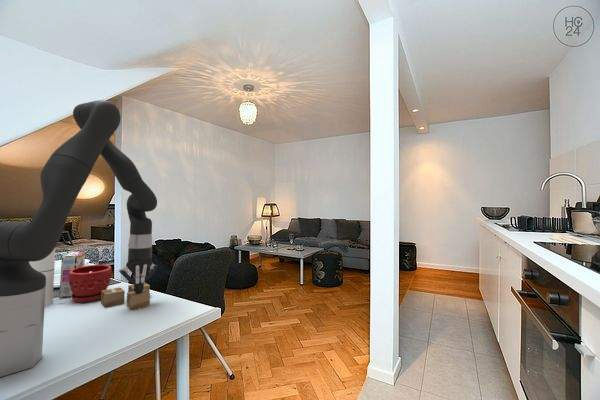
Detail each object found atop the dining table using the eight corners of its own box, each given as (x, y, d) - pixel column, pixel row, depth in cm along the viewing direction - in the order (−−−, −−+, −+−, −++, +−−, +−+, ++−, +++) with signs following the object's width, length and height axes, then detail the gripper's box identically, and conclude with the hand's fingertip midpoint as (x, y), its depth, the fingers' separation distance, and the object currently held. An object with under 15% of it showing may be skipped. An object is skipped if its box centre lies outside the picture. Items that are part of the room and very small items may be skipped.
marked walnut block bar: (124, 304, 99) (124, 290, 99) (104, 308, 95) (105, 293, 95) (119, 299, 103) (120, 286, 103) (100, 303, 99) (101, 290, 99)
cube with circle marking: (149, 297, 107) (149, 284, 107) (132, 301, 102) (132, 288, 102) (144, 294, 111) (144, 281, 111) (127, 297, 106) (128, 284, 106)
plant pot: (67, 297, 104) (69, 267, 104) (108, 291, 113) (109, 263, 113) (67, 307, 94) (69, 274, 95) (112, 299, 103) (113, 269, 103)
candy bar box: (74, 297, 105) (76, 255, 105) (58, 298, 103) (60, 256, 103) (84, 288, 115) (85, 251, 115) (69, 289, 113) (71, 251, 113)
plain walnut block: (149, 306, 97) (150, 293, 98) (130, 311, 93) (131, 296, 93) (144, 302, 102) (145, 289, 102) (126, 306, 97) (127, 292, 97)
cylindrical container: (19, 309, 92) (23, 237, 92) (34, 301, 98) (37, 235, 99) (44, 307, 94) (48, 237, 94) (57, 300, 100) (60, 235, 101)
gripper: (122, 249, 91) (120, 299, 90) (163, 245, 100) (161, 291, 100) (116, 246, 96) (114, 294, 95) (155, 243, 105) (154, 286, 105)
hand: (138, 292), depth 98 cm, fingers closed
